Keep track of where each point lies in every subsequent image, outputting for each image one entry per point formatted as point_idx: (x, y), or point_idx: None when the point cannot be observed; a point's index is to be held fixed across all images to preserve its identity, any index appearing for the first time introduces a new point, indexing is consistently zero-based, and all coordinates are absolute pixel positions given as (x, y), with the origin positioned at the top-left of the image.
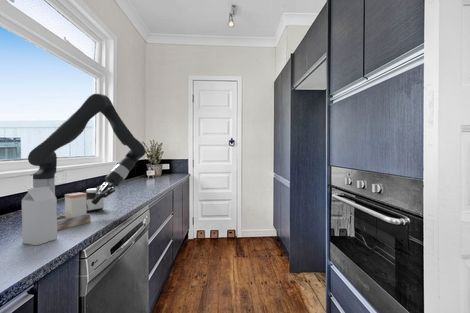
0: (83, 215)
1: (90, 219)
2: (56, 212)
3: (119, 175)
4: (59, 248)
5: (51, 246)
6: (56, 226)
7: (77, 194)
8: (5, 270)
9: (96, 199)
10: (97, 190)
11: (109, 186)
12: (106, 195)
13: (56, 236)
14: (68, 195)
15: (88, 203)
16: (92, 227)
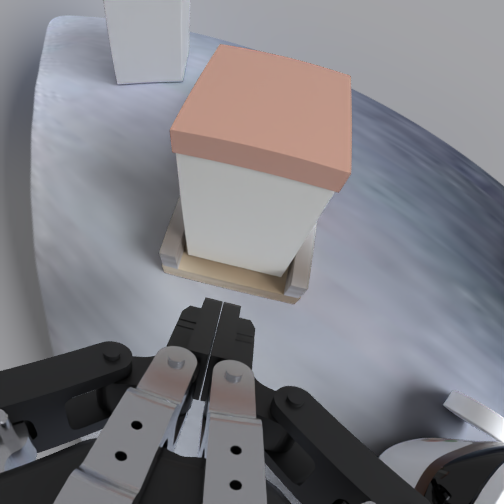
0: (180, 215)
1: (162, 266)
2: (105, 8)
3: None
4: (61, 66)
5: (90, 63)
6: (111, 50)
7: (225, 80)
8: (91, 17)
9: (181, 323)
10: (312, 438)
11: (13, 471)
12: (86, 400)
13: (116, 77)
14: (274, 56)
15: (439, 445)
16: (79, 203)
